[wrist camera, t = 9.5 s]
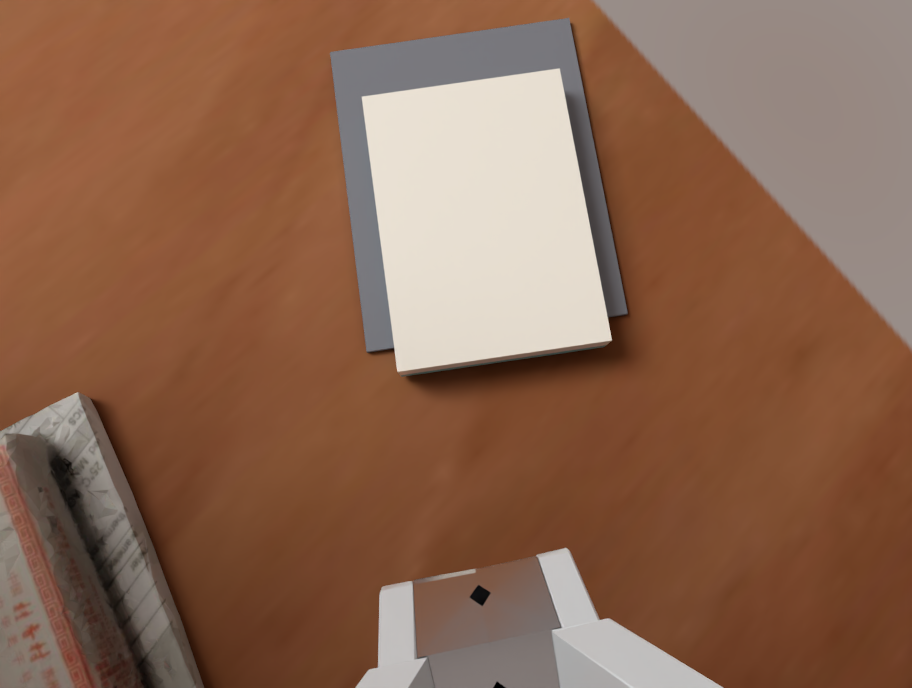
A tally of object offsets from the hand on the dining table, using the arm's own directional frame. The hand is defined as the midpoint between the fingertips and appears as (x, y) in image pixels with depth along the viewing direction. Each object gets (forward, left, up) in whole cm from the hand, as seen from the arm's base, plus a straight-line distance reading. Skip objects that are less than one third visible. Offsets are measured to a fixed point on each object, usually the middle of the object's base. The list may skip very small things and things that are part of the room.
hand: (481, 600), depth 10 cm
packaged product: (-15, -13, -21) cm, 29 cm away
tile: (-2, +7, -20) cm, 21 cm away
